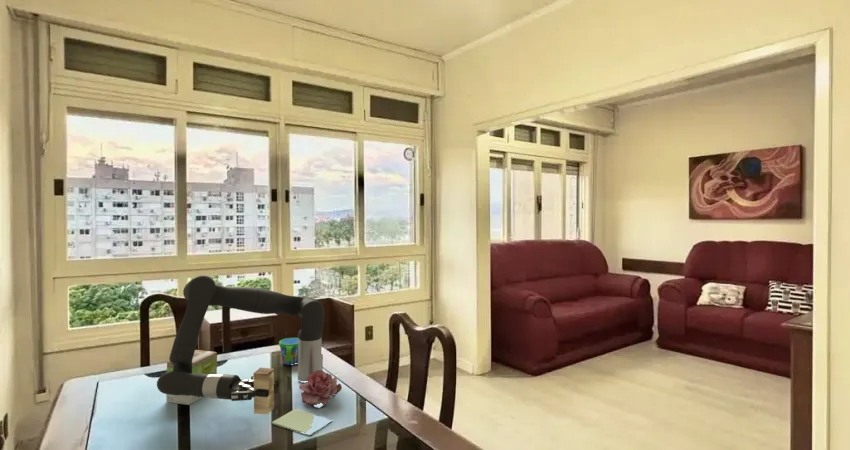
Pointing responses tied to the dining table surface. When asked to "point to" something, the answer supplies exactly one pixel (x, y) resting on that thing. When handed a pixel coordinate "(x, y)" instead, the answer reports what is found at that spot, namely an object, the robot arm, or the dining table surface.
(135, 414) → the dining table surface
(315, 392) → the flower
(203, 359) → the tea box
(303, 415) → the felt mat
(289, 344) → the snack cup
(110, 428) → the dining table surface
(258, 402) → the beech block
